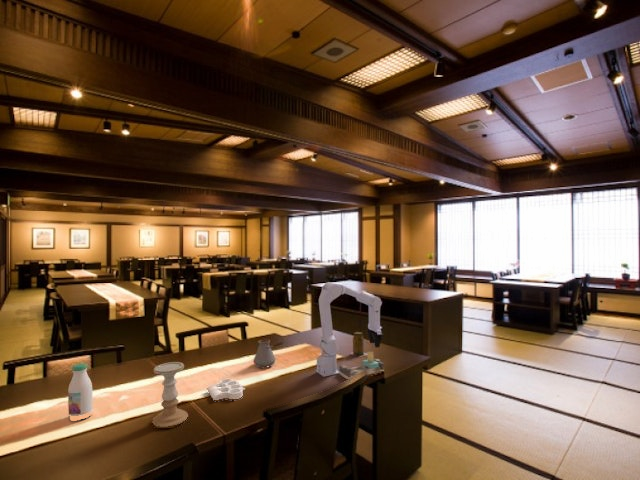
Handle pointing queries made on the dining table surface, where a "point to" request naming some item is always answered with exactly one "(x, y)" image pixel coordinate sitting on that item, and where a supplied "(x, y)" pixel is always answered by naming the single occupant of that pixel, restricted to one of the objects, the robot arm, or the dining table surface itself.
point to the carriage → (370, 361)
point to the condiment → (358, 344)
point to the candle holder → (169, 396)
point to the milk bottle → (80, 391)
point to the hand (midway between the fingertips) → (374, 344)
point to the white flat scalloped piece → (226, 390)
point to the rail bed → (359, 370)
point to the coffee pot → (265, 354)
